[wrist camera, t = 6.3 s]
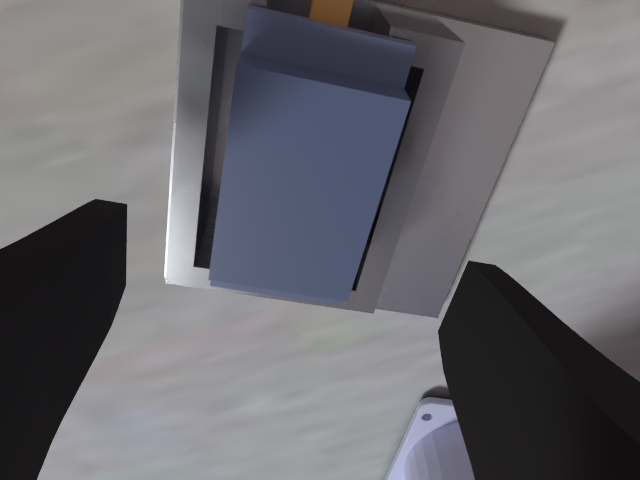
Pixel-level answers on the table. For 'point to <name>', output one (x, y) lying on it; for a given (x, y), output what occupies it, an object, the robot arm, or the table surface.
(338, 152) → the blue-grey long block
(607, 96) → the table surface
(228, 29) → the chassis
